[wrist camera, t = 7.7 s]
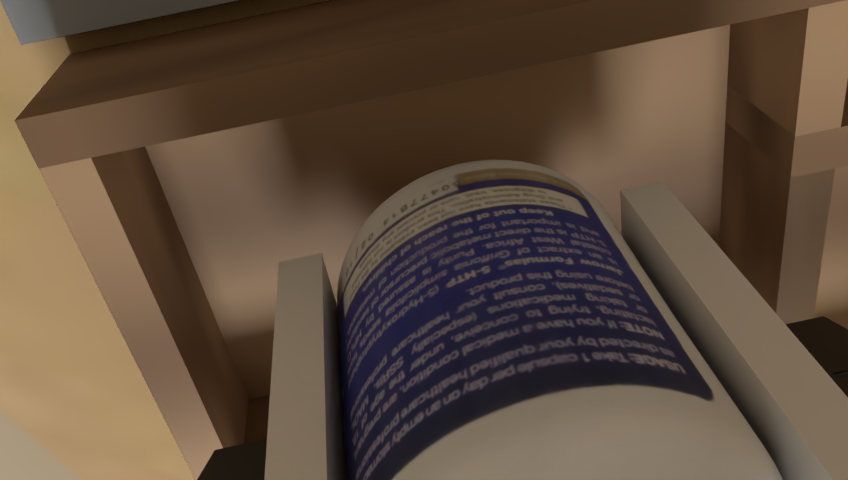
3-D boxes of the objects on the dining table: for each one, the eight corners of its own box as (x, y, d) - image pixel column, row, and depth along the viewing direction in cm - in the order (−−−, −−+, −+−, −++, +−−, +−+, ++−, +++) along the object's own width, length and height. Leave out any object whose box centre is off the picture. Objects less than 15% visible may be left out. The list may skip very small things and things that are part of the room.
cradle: (69, 54, 14) (14, 120, 11) (765, -89, 14) (867, -57, 11) (227, 415, 19) (213, 517, 16) (737, 306, 19) (803, 390, 16)
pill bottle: (275, 297, 14) (230, 933, 6) (486, 89, 12) (770, 598, 5) (474, 429, 16) (619, 1006, 8) (673, 268, 14) (1063, 800, 7)
